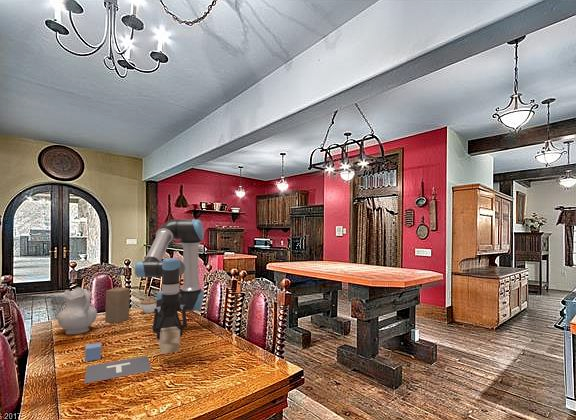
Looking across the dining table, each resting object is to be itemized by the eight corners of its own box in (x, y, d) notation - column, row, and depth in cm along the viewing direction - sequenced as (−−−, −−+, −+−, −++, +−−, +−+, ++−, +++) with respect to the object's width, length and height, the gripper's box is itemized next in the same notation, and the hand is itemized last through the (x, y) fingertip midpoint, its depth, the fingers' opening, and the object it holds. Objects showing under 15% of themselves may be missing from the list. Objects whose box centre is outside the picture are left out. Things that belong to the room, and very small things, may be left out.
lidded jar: (143, 310, 239) (143, 297, 239) (158, 310, 240) (159, 297, 240) (138, 314, 228) (138, 300, 229) (154, 314, 229) (154, 300, 230)
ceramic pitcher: (106, 330, 195) (110, 287, 199) (75, 338, 177) (80, 291, 180) (79, 327, 202) (83, 285, 206) (47, 334, 184) (52, 288, 187)
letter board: (147, 356, 153) (147, 355, 153) (151, 371, 138) (151, 370, 138) (86, 367, 142) (86, 366, 142) (83, 384, 126) (84, 383, 126)
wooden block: (118, 323, 207) (119, 290, 208) (104, 322, 209) (105, 290, 210) (129, 318, 217) (130, 288, 218) (115, 318, 219) (116, 287, 220)
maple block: (176, 346, 152) (176, 326, 153) (179, 351, 146) (179, 330, 147) (160, 348, 149) (160, 328, 149) (162, 354, 143) (162, 332, 143)
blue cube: (100, 355, 155) (101, 342, 155) (100, 360, 150) (100, 346, 150) (85, 358, 152) (86, 344, 152) (84, 362, 147) (85, 349, 147)
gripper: (191, 289, 157) (190, 339, 156) (145, 293, 148) (144, 346, 146) (194, 292, 150) (194, 344, 149) (147, 296, 141) (146, 351, 140)
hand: (169, 345), depth 148 cm, fingers closed on maple block, 7 cm apart
